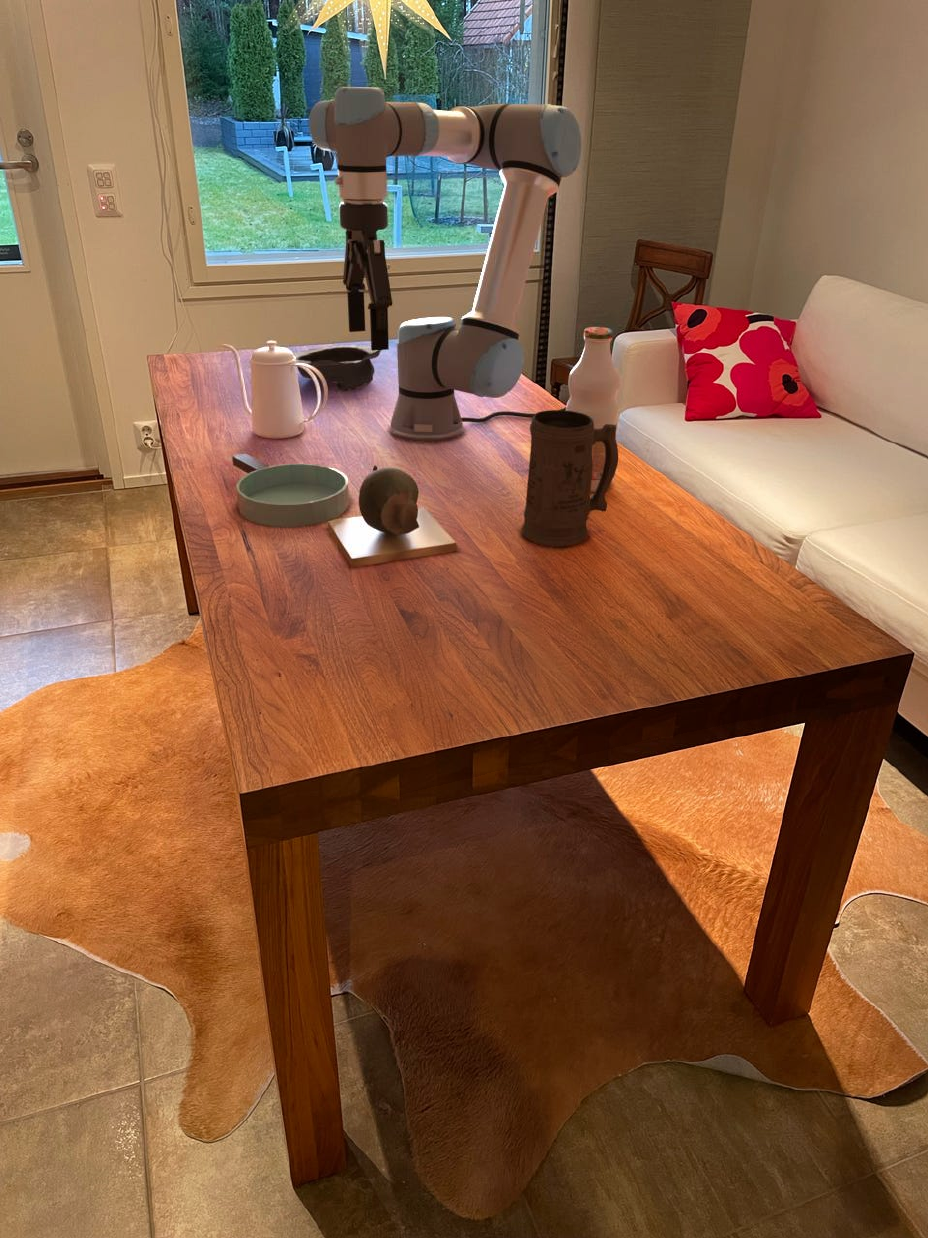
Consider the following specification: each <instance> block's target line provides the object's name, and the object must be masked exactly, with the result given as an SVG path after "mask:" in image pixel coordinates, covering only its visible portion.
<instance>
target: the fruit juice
mask: <svg viewBox="0 0 928 1238" xmlns="http://www.w3.org/2000/svg"><path fill="white" fill-rule="evenodd" d="M613 331H614V330H613V329H611V328H609V327H603V326H591V327H590V326H589V327H586V328H585V329H584V331H583V339H584V348H583V351H582V354H581V357H580V358H579V360H578V361H577V363H576V364H575V365H574V366H573V368H572V369H571V371H570V372H569V375H568V380H567V387H568V391H569V398H568V400H567V402H566V406H565V407H566V411H574V412H578V413H583V414H585V415H588V416H589V417H591V418H592V419H593V421H594V429H595V430H597V429H601V428H603V426H604V425H605V424H613V425H616V430H617V429H618V428H617V427H618V420H619V407H618V403H617V397H618V393H619V390H620V388H621V375H620V372H619V371H618V369H617V368H616V366H615V364H614V362H613V359H612V354H611V353H612V352H611V342H612V341H613V338H614V332H613ZM615 436H617V431H616V432H615ZM605 451H606V449H605V445H604V443H603V442H601V441H600V442H596V443H595V444H594V445H593V446H592V462H593V468H592V481H591V491H590V493H591V492H592V493H595V491H596V488H597V486H598V484H599V481H600V478H601V475H602V472H603V468H604V463H605Z"/></svg>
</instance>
